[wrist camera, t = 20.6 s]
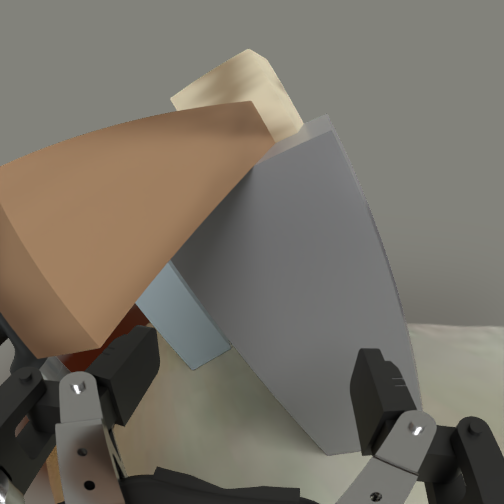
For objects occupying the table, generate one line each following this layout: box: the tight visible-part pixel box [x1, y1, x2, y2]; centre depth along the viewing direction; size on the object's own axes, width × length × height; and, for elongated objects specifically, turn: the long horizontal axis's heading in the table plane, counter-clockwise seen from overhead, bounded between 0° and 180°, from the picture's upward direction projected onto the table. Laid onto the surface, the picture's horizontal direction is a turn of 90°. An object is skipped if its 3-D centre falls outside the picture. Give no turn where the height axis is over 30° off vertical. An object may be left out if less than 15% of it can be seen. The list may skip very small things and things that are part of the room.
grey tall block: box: [170, 114, 423, 455], centre depth 22 cm, size 12×10×27 cm
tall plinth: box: [135, 260, 231, 370], centre depth 47 cm, size 11×12×32 cm
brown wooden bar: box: [0, 49, 304, 359], centre depth 13 cm, size 6×22×6 cm, turn 166°
